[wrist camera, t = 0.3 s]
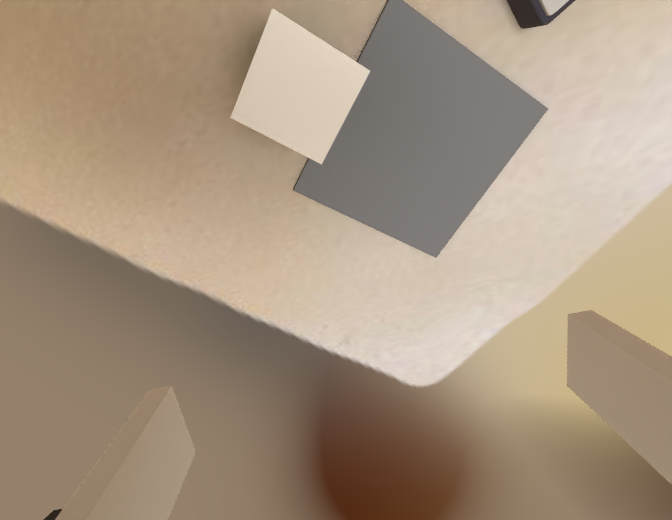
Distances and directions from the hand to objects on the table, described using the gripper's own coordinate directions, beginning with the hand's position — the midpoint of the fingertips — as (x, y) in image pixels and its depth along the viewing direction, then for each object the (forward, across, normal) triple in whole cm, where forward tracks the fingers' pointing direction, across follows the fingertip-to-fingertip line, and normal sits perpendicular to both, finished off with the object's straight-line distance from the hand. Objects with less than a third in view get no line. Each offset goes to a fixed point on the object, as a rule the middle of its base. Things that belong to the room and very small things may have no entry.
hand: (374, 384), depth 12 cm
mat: (+26, +9, +6) cm, 28 cm away
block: (+24, -1, +14) cm, 28 cm away
